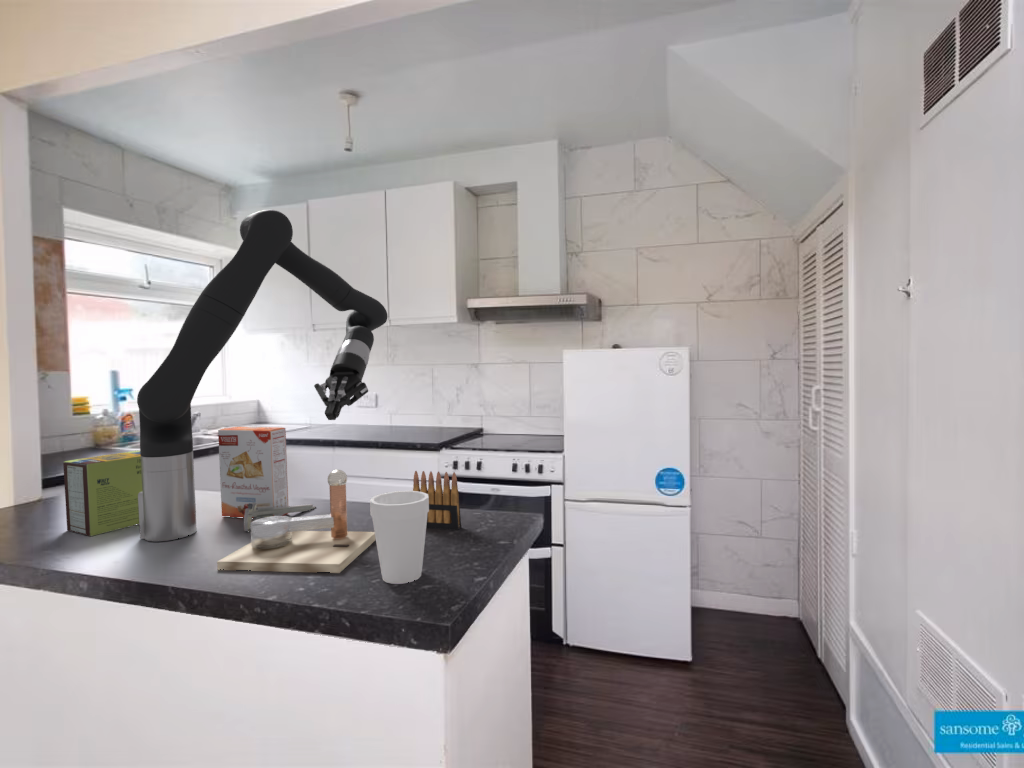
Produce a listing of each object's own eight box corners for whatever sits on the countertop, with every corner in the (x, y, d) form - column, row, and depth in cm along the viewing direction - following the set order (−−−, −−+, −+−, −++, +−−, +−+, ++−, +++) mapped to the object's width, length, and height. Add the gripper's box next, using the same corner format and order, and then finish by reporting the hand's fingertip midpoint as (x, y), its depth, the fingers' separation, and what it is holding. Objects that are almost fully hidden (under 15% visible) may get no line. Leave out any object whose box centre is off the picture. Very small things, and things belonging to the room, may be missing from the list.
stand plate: (217, 570, 91) (217, 560, 91) (272, 537, 108) (272, 529, 108) (339, 573, 89) (339, 563, 89) (376, 539, 106) (376, 530, 106)
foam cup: (432, 584, 83) (429, 502, 83) (371, 591, 81) (368, 507, 81) (428, 562, 93) (426, 489, 92) (374, 568, 91) (371, 492, 90)
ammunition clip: (411, 526, 113) (409, 471, 113) (415, 524, 115) (413, 469, 115) (458, 530, 111) (456, 473, 110) (461, 527, 112) (459, 471, 112)
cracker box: (220, 518, 123) (216, 429, 122) (238, 511, 128) (235, 425, 128) (273, 521, 119) (269, 429, 119) (289, 514, 125) (286, 426, 125)
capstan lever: (247, 550, 95) (244, 479, 94) (255, 538, 101) (252, 472, 101) (348, 540, 99) (346, 472, 99) (349, 529, 106) (347, 465, 106)
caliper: (248, 534, 111) (246, 505, 111) (244, 534, 112) (243, 504, 112) (316, 508, 130) (315, 483, 130) (313, 508, 131) (312, 483, 131)
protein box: (166, 517, 125) (163, 452, 124) (89, 537, 111) (85, 464, 110) (141, 512, 130) (138, 449, 129) (65, 531, 116) (61, 460, 115)
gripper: (319, 351, 127) (295, 407, 115) (372, 350, 125) (353, 406, 113) (330, 373, 132) (308, 428, 120) (381, 372, 131) (364, 427, 119)
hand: (330, 417), depth 117 cm, fingers closed
